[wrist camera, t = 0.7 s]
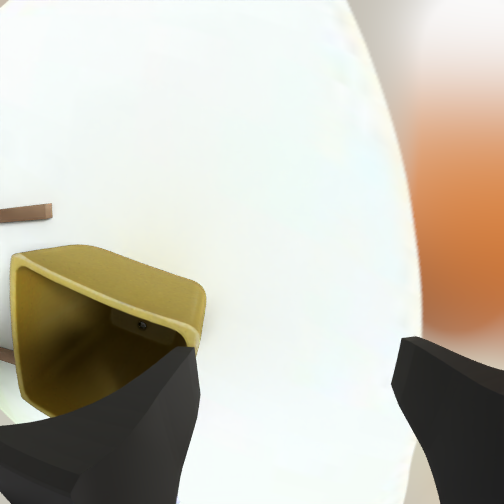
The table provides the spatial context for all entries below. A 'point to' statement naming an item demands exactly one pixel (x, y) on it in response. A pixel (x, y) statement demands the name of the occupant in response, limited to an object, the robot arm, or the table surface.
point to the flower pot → (94, 323)
